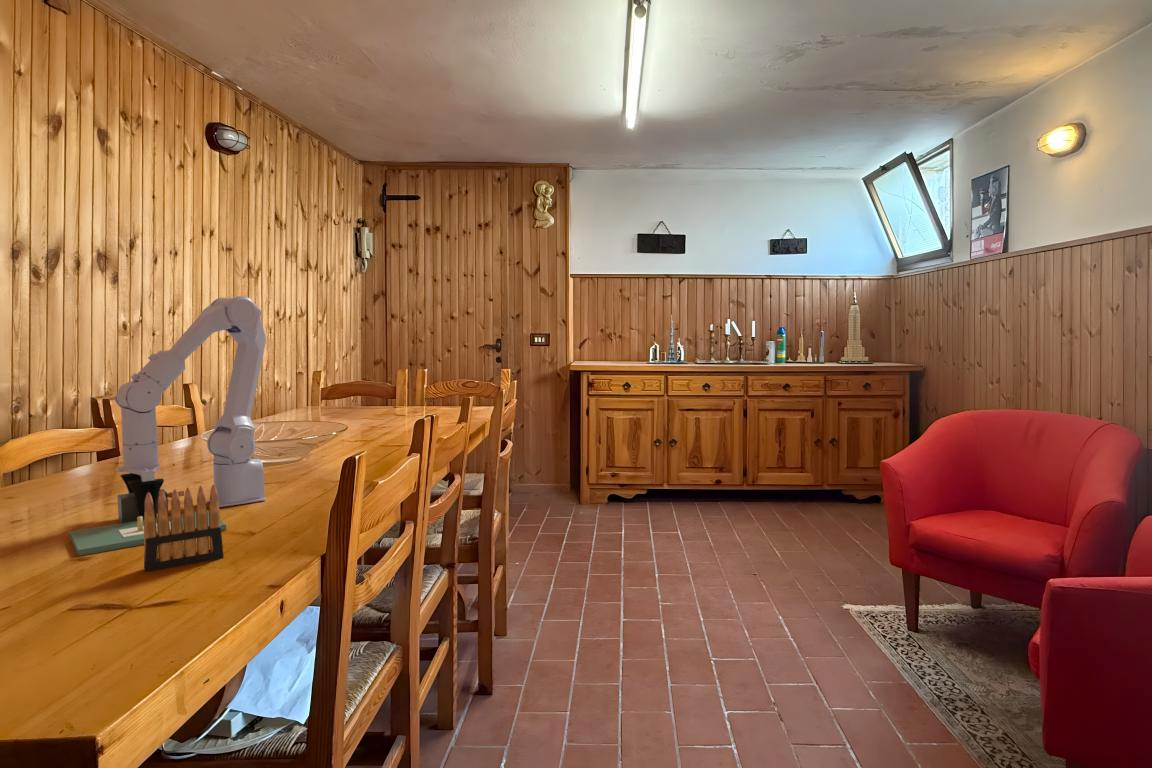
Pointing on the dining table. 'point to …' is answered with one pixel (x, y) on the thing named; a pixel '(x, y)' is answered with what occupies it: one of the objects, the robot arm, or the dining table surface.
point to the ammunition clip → (181, 531)
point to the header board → (113, 536)
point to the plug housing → (130, 509)
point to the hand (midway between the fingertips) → (143, 511)
